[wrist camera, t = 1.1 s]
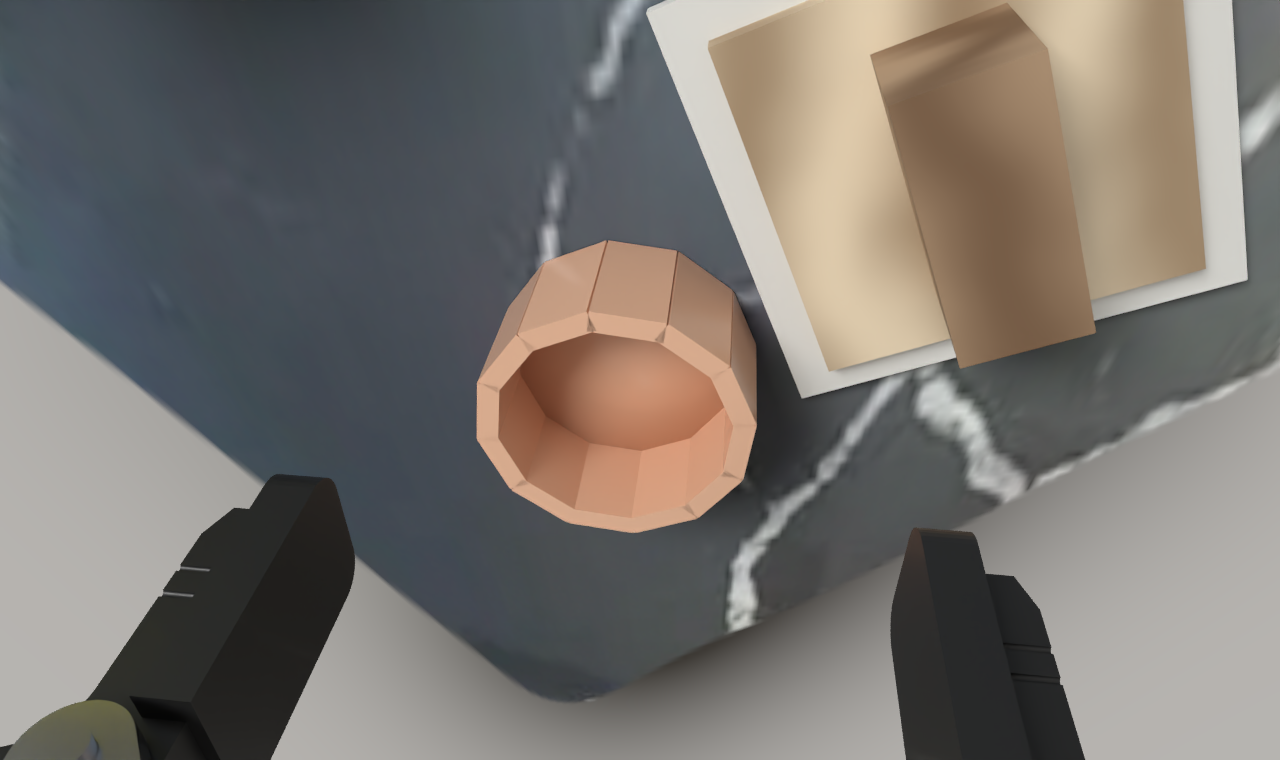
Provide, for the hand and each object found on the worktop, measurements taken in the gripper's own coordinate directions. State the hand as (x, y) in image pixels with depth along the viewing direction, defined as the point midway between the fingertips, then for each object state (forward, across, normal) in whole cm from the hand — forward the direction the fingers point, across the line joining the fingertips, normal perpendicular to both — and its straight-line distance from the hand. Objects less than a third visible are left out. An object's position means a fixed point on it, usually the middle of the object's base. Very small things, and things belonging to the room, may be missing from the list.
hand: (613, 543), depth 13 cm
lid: (+20, -9, +2) cm, 22 cm away
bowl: (+21, +2, +12) cm, 24 cm away
